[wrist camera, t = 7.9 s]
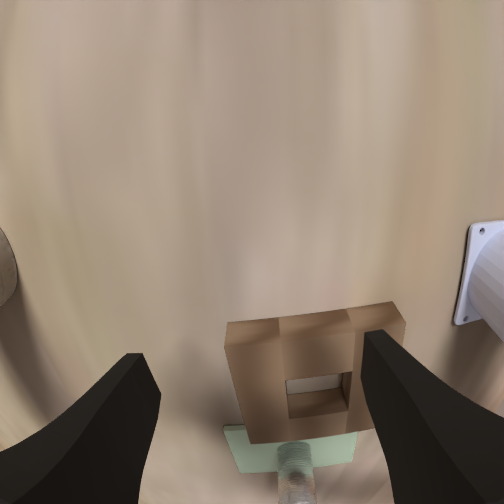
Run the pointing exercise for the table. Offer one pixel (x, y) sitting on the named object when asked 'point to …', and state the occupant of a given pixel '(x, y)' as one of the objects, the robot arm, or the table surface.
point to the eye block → (304, 371)
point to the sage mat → (265, 455)
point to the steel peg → (295, 474)
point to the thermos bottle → (6, 270)
